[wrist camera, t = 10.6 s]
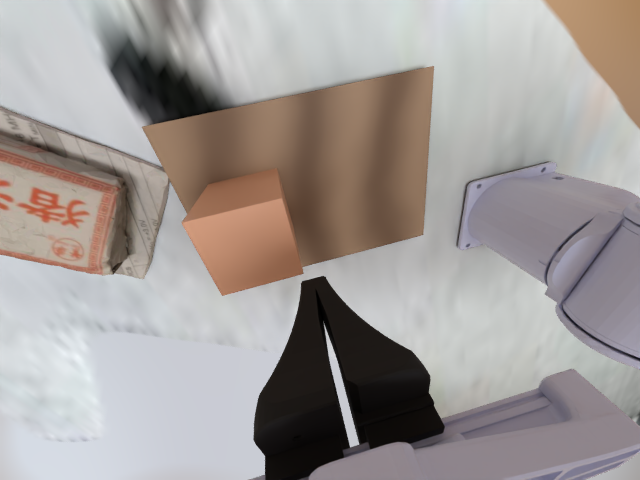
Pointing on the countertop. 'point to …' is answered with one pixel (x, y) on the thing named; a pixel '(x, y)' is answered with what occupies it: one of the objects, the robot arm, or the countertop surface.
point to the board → (318, 159)
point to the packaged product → (76, 201)
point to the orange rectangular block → (244, 232)
